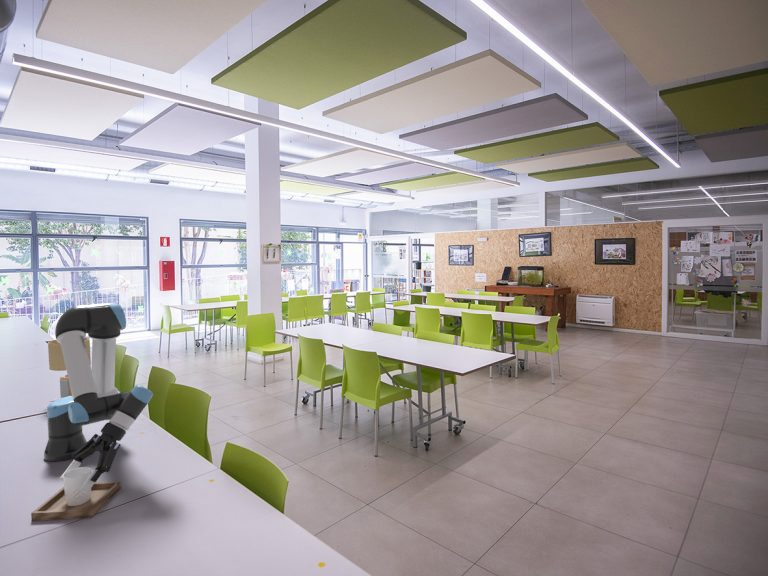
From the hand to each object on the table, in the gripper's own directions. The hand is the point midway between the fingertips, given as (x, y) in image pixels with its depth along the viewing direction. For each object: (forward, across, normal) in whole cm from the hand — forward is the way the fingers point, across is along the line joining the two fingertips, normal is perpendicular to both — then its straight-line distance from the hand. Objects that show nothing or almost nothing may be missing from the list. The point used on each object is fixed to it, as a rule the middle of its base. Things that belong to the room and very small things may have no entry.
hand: (73, 485), depth 146 cm
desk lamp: (-32, +120, -43) cm, 131 cm away
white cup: (+4, 0, -6) cm, 7 cm away
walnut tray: (+4, 0, -6) cm, 7 cm away
